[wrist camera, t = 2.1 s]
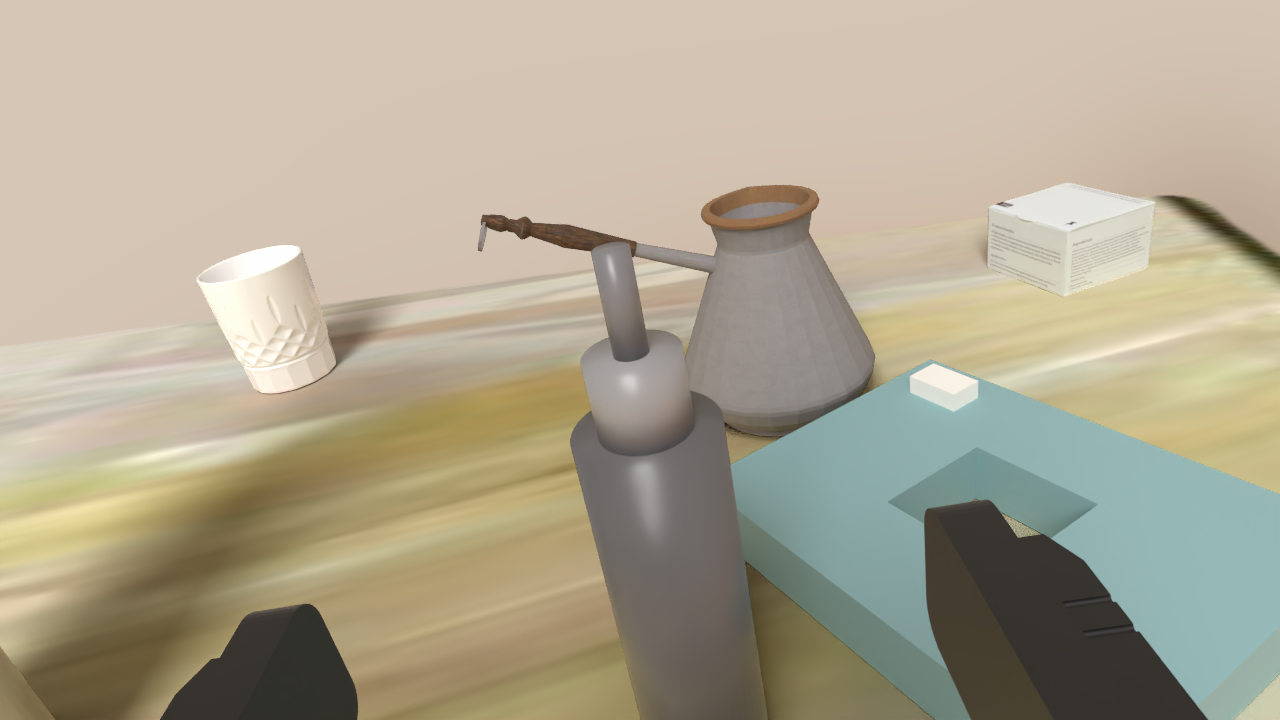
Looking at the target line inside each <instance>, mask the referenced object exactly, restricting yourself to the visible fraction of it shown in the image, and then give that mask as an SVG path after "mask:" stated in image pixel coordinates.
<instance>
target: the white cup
mask: <svg viewBox="0 0 1280 720" xmlns="http://www.w3.org/2000/svg"><path fill="white" fill-rule="evenodd" d="M196 281H197V283H198V285H199V287H200V289H201V291H202V293H203V295H204V297H205V298H206V300H207V302H208V304H209V306H210V308H211V310H212V312H213V314H214V316H215V318H216V320H217V322H218V324H219V326H220V328H221V329H222V331H223V333H224V335H225V337H226V339H227V340H228V342H229V343H230V345H231V347H232V349H233V351H234V353H235V355H236V357H237V358H238V360H239V361H240V362H241V363H242V364H243V368H244V370H245V372H246V374H247V375H248V377H249V379H250V381H251V383H252V385H253V387H254V389H256V390H257V391H259V392H261V393H266V394H275V393H282V392H287V391H291V390H295V389H298V388H301V387H303V386H306V385H308V384H311V383H313V382H315V381H317V380H318V379H320V378H322V377H323V376H325V375H326V374H328V373H329V372H330V371H331V370H332V368H333V367H334V366H335V365H336V357H335V354H334V351H333V348H332V345H331V342H330V339H329V336H328V329H327V326H326V323H325V320H324V316H323V312H322V309H321V306H320V303H319V300H318V297H317V294H316V291H315V288H314V285H313V282H312V279H311V276H310V274H309V271H308V268H307V265H306V262H305V259H304V256H303V253H302V249H301V248H300V247H298V246H294V245H282V246H273V247H268V248H263V249H258V250H255V251H250V252H247V253H244V254H241V255H238V256H234V257H232V258H229V259H226V260H224V261H221V262H219V263H217V264H215V265H213V266H211V267H209V268H207V269H206V270H204V271H203V272H201V273H200V274H199V275H198V276H197V278H196Z"/></svg>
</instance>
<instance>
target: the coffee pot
mask: <svg viewBox="0 0 1280 720" xmlns="http://www.w3.org/2000/svg"><path fill="white" fill-rule="evenodd" d="M818 203H819V198H818V195H817V193H816V192H815V191H813V190H811V189H809V188H805V187H801V186H792V185H769V186H754V187H746V188H743V189H740V190H737V191H734V192H731V193H728V194H725V195H723V196H720V197H718V198H716V199H713V200H712V201H710V202H709V203H707V204H706V205H705V206H704V207H703V209H702V212H701V217H702V219H703V220H704V222H706V224H708V225H710V226H711V228H712V231H713V233H714V236H715V238H716V241H717V248H716V251H715V255H714V256H710V255H704V254H698V253H692V252H686V251H680V250H674V249H668V248H663V247H657V246H651V245H644V244H639V243H636V242H635V241H631V240H627V239H623V238H619V237H615V236H611V235H607V234H603V233H599V232H595V231H590V230H587V229H583V228H579V227H575V226H571V225H559V224H544V223H532V222H531V221H530V219H528V218H527V217H522V218H520V219H518V220H513V219H510V220H509V219H508V218H506V217H505V216H502V215H483V216H482V219H481V225H482V227H481V231H480V237H479V243H478V251H482V249H483V246H484V242H485V237H486V232H487V227H488V228H490V229H493V230H496V231H499V232H503V231H506V230H508V231H509V232H514V233H515V234H517V236H518V237H519V238H520V239H525V238H527V237H529V236H532V237H534V238H537V239H541V240H543V241H546V242H549V243H553V244H556V245H558V246H561V247H564V248H570V249H578V250H585V251H592V250H593V249H594V248H595V247H597V246H600V245H602V244H606V243H610V242H626V243H628V244H629V245H630V250H631V255H632V257H634V256H636V257H640V258H645V259H649V260H654V261H658V262H663V263H668V264H672V265H677V266H681V267H686V268H690V269H695V270H700V271H704V272H709V276H708V279H707V283H706V286H705V290H704V293H703V297H702V300H701V304H700V307H699V311H698V314H697V318H696V321H695V325H694V328H693V332H692V335H691V339H690V342H689V345H688V349H687V352H686V356H685V363H686V369H687V375H688V381H689V387H690V391H694V392H697V393H700V394H703V395H705V396H707V397H709V398H710V399H712V400H713V401H714V402H715V403H716V404H717V405H718V406H719V407H720V409H721V411H722V414H723V418H724V422H725V423H727V424H728V425H730V426H731V427H732V428H735V429H737V430H739V431H742V432H744V433H749V434H753V435H758V436H776V437H777V436H786V435H788V434H790V433H792V432H794V431H796V430H797V429H799V428H801V427H803V426H805V425H807V424H809V423H811V422H813V421H815V420H816V419H818V418H820V417H822V416H824V415H826V414H828V413H830V412H832V411H834V410H835V409H837V408H839V407H841V406H843V405H845V404H847V403H849V402H851V401H853V400H854V399H856V398H858V397H859V395H860V394H861V392H862V391H863V390H864V388H865V387H866V386H867V384H868V381H869V379H870V377H871V375H872V372H873V367H874V361H875V355H874V352H873V349H872V347H871V344H870V342H869V340H868V338H867V336H866V334H865V333H864V331H863V329H862V327H861V325H860V324H859V322H858V320H857V318H856V316H855V315H854V313H853V311H852V309H851V307H850V306H849V304H848V302H847V300H846V299H845V297H844V295H843V293H842V291H841V290H840V288H839V286H838V284H837V282H836V281H835V279H834V277H833V275H832V273H831V272H830V270H829V268H828V266H827V264H826V263H825V261H824V259H823V257H822V255H821V254H820V252H819V250H818V248H817V246H816V245H815V243H814V241H813V239H812V237H811V236H810V234H809V226H810V220H811V213H812V211H813V210H814V209H816V207H817V205H818Z"/></svg>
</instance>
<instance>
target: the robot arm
mask: <svg viewBox="0 0 1280 720" xmlns="http://www.w3.org/2000/svg"><path fill="white" fill-rule="evenodd" d="M924 539H925V574H926V602H927V609H928V615H929V620H930V624H931V628H932V632H933V635H934V638H935V641H936V644H937V646H938V649H939V651H940V654H941V656H942V658H943V660H944V662H945V664H946V667H947V669H948V671H949V673H950V675H951V677H952V680H953V682H954V684H955V686H956V688H957V690H958V693H959V695H960V697H961V699H962V701H963V703H964V706H965V708H966V710H967V712H968V714H969V716H970V718H971V720H1208V719H1207V718H1206V716H1205V715H1204V714H1203V712H1202V711H1201V710H1200V709H1199V707H1198V706H1197V705H1196V703H1195V702H1194V701H1193V700H1192V698H1191V697H1190V696H1189V694H1188V693H1187V692H1186V691H1185V689H1184V688H1183V687H1182V685H1181V684H1180V683H1179V682H1178V680H1177V679H1176V678H1175V676H1174V675H1173V674H1172V673H1171V671H1170V670H1169V669H1168V667H1167V666H1166V665H1165V664H1164V662H1163V661H1162V660H1161V658H1160V657H1159V656H1158V655H1157V653H1156V652H1155V651H1154V649H1153V648H1152V647H1151V646H1150V644H1149V643H1148V642H1147V640H1146V639H1145V638H1144V637H1143V635H1142V634H1141V633H1140V631H1137V632H1136V631H1135V629H1134V626H1133V623H1132V621H1131V620H1130V619H1129V617H1128V616H1127V615H1126V614H1125V612H1124V611H1123V610H1122V608H1121V607H1120V606H1119V605H1118V603H1117V602H1113V601H1112V599H1111V594H1110V593H1109V592H1108V590H1107V589H1106V588H1105V587H1104V585H1103V584H1102V583H1101V581H1100V580H1099V579H1098V578H1097V576H1096V575H1095V574H1094V572H1093V571H1092V570H1091V569H1090V567H1089V566H1088V565H1087V563H1086V562H1085V561H1084V560H1083V559H1081V558H1080V557H1078V556H1077V555H1075V554H1074V553H1072V552H1071V551H1069V550H1068V549H1066V548H1065V547H1063V546H1061V545H1060V544H1058V543H1057V542H1055V541H1054V540H1052V539H1051V538H1049V537H1048V536H1046V535H1045V534H1040V535H1034V536H1027V537H1021V538H1018V537H1017V536H1016V534H1015V533H1014V532H1013V530H1012V529H1011V527H1010V526H1009V524H1008V523H1007V521H1006V520H1005V519H1004V517H1003V516H1002V514H1001V513H1000V511H999V510H998V508H997V507H996V506H995V505H994V503H992V502H991V501H990V500H987V499H985V500H978V501H972V502H966V503H959V504H953V505H946V506H940V507H934V508H928V509H927V510H926V511H925V515H924ZM357 716H358V702H357V694H356V689H355V685H354V683H353V680H352V678H351V676H350V674H349V672H348V670H347V668H346V666H345V664H344V662H343V660H342V658H341V656H340V654H339V652H338V649H337V647H336V645H335V643H334V641H333V639H332V637H331V635H330V633H329V631H328V629H327V627H326V625H325V623H324V621H323V619H322V617H321V615H320V613H319V611H318V610H317V609H316V608H315V607H314V606H313V605H310V604H302V605H295V606H289V607H282V608H276V609H270V610H263V611H257V612H252V613H250V614H248V615H247V616H246V617H245V618H244V619H243V620H242V621H241V623H240V624H239V626H238V628H237V629H236V631H235V633H234V635H233V636H232V638H231V640H230V641H229V643H228V645H227V646H226V648H225V650H224V652H223V653H222V655H221V657H220V658H216V659H211V660H210V661H209V662H208V663H207V664H206V665H205V666H204V667H203V668H202V669H201V670H200V671H199V672H198V673H197V674H196V675H195V676H194V677H193V678H192V679H191V680H190V681H189V682H188V683H187V684H186V685H185V686H184V687H183V688H182V689H181V690H180V691H179V692H178V693H177V694H176V695H175V696H174V698H173V699H172V701H171V703H170V704H169V706H168V708H167V709H166V711H165V712H164V714H163V716H162V717H161V719H160V720H357ZM0 720H55V719H54V717H53V716H52V715H51V713H50V712H49V711H48V709H47V708H46V707H45V705H44V704H43V703H42V701H41V700H40V699H39V698H38V696H37V695H36V694H35V692H34V691H33V690H32V688H31V687H30V686H29V684H28V683H27V682H26V680H25V678H24V677H23V676H22V674H21V673H20V672H19V670H18V669H17V668H16V667H15V665H14V664H13V663H12V661H11V660H10V659H9V657H8V656H7V655H6V653H5V652H4V651H3V649H2V648H1V647H0Z"/></svg>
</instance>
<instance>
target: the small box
mask: <svg viewBox="0 0 1280 720" xmlns="http://www.w3.org/2000/svg"><path fill="white" fill-rule="evenodd" d="M1155 203H1156V202H1153V201H1147V200H1142V199H1137V198H1133V197H1128V196H1124V195H1120V194H1115V193H1111V192H1106V191H1102V190H1098V189H1093V188H1089V187H1085V186H1080V185H1077V184H1073V183H1065V184H1061V185H1057V186H1054V187H1050V188H1048V189H1044V190H1042V191H1038V192H1035V193H1031V194H1029V195H1025V196H1021V197H1018V198H1014V199H1011V200H1008V201H1004V202H1001V203H998V204H995V205H992V206H990V207H989V208H988V255H987V268H990V269H992V270H995V271H997V272H1000V273H1003V274H1005V275H1008V276H1010V277H1013V278H1015V279H1018V280H1020V281H1023V282H1026V283H1028V284H1031V285H1033V286H1036V287H1039V288H1041V289H1044V290H1046V291H1049V292H1051V293H1054V294H1056V295H1059V296H1061V297H1066V296H1069V295H1071V294H1074V293H1077V292H1080V291H1083V290H1086V289H1089V288H1092V287H1095V286H1098V285H1101V284H1104V283H1106V282H1109V281H1112V280H1115V279H1118V278H1121V277H1124V276H1127V275H1130V274H1133V273H1136V272H1139V271H1142V270H1145V269H1147V268H1148V265H1149V255H1150V245H1151V236H1152V228H1153V218H1154V210H1155Z"/></svg>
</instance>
